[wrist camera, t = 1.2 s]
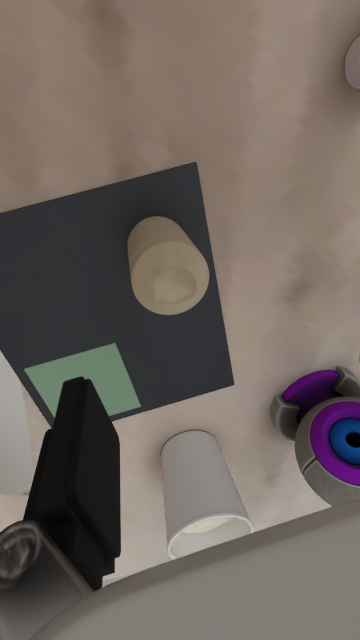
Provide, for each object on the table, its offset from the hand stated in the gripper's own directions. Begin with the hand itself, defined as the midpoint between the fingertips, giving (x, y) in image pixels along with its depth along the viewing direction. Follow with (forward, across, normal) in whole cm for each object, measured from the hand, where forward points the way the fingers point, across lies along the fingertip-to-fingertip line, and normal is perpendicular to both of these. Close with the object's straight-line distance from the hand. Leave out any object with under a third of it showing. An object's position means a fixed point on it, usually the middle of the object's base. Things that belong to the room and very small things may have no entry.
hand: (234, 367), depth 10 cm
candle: (+21, +1, +1) cm, 21 cm away
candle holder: (+22, +4, +31) cm, 38 cm away
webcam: (+22, -15, +29) cm, 40 cm away
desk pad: (+21, +7, +8) cm, 24 cm away
